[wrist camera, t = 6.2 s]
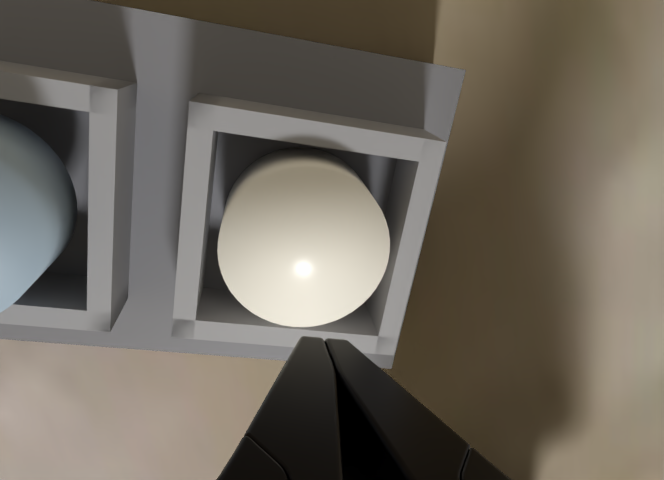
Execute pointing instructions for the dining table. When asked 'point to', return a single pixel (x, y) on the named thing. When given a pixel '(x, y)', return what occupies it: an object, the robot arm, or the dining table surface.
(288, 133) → the button panel
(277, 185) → the cream button
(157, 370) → the dining table surface
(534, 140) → the dining table surface
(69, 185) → the slate button
